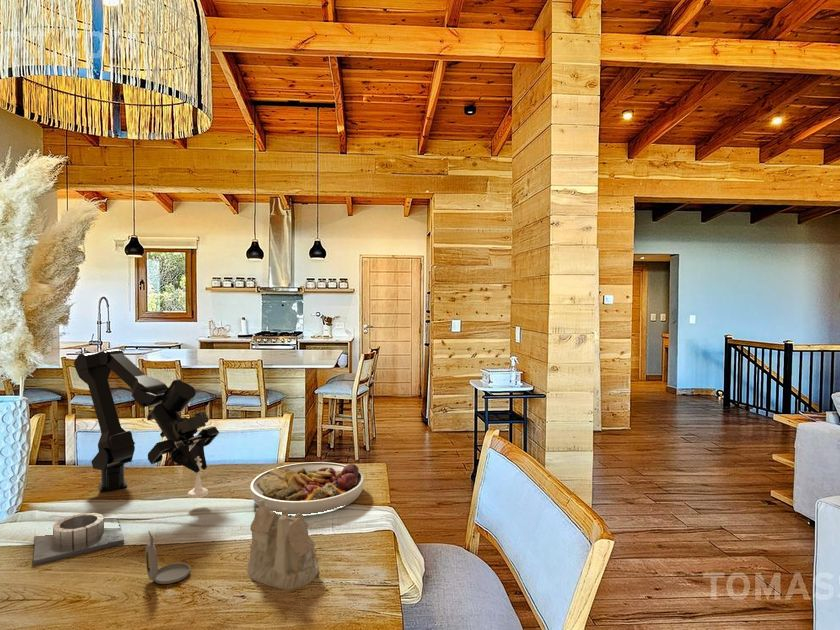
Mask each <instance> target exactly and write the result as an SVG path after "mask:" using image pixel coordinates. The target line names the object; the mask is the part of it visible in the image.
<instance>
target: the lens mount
mask: <svg viewBox="0 0 840 630" xmlns="http://www.w3.org/2000/svg"><path fill="white" fill-rule="evenodd" d="M104 522H111V523H114V522H119V523H120V520H116V519H104V515H103V514H101V513H99V512H85V513H79V514H73V515H70V516H67V517H65V518H62V519H60V520H58V521H57V522H55V523H54V524H53V525H52V527H53V535H45V536H35V538H34V548H33V564H32V566H37V565H42V564H45V563H50V562H55V561H58V560H63V559H67V558H71V557H74V556H80V555H83V554H87V553H88V554H89V553H92V552H97V551H100V550H101V551H102V550H105V549H109V548H112V547H113V548H114V547H118V546H121V545H124V544H125V538H124V534H123V531H122V528H104Z"/></svg>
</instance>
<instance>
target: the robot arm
mask: <svg viewBox="0 0 840 630" xmlns="http://www.w3.org/2000/svg"><path fill="white" fill-rule="evenodd" d="M73 365H74V368H75V371H76V373H77V375H78V378H79V379H80V380H82V381H83V382H84V383H85V384H86V385H87V387H88V390H89V393H90V397H91V400H92V404H93V408H94V411H95V415H96V419H97V422H98V426H99V430H100V437H99V439H98V443H97V447H98V448H97V451H98V452H97V453H96V455H94V457H93V459H92V460H91V462H90V463H91V466H92V468H93V469H94V470H97V471H98V470H100V483H98V487H99V491H100V492H107V491H108V492H109V491H113V490H120V489H124V488H127V487H128V484H127V481H126V479H125V464H127V463H131V462H132V461H133V457H134V453H135V449H136V447H135V444H136V442H135V441H134V438H133V433H132V431H130V430H128V431H126V430H125V429H124V428H122V425H121V422H120V419H119V415H118V411H117V408H116V404H115V401H114V400H115V399H114V397H113V393H112V389H111V386H110V382H109V377H110V374H111V372H113V373H115V374H116V376H117V377H118V378H120V379H121V380H122V382H124V384H126V385H127V386H128V387H129V389H131V397H133V399H134V401H135V402H137V403H136V404H138V406H140V407H141V408H147V407H153V406H154V407H153V409H149V410H148V415H147V417H146V420H147V421H148V422H149V421H152V420H154V422H155V423H156V424H157V426H158V428H159V429H160V430H161V432H160V433H159V435H160V437H161V438H166V440H161V441H159V442H157V443H155V445H154V446H153V447H152V448H151V449H150V450H149V451H148V453H147V460H148V461H149V463H150V465H155V464H158V463H161V462H162V460H163V457H164V456H163V455H165V454H169V456H170V457H169V458H168V462H173V463H176V464H178V465H181V466H183V467H185V468H187V469H188V470H191V471H192V472H193V473H194V472H196V473H197V472H199V471H201V470H203V471H205V470H206V469H207V468H208V465H207V461H206V455H205V447H207V446H208V445H210V444H211V443H212V442H213V441H214V439H215V438H217V436H218V435H219V434H220V431H219V430H218V428H217V427H216V426H212V425H211V426H209V427H206V426H207V425H206V424H207V423H208V422H209V420H210V419H209V416H208V415H207V413H206V412H205V411H204V410H202V411H199V412H197V413H195V415H194V416H192V417H185V416H184V417H183V416H181V414H180V412H183V411H184V410H185V409H186V407H187V406H188V405H189V404H190V402H191V401H192V400H193V399H194V397H195V396H196V394H197V393H196V389H195V387H194V386H192V385H190V384H189V383H187V382H185V381H183V380H182V379H180V378H178V379H173V381H172V382H171V384H170V385H169V386H167V385H166V383H165V382H162V381H161V380H160V379H158V378H155V377H152V376H149V375H147V374H145V373H144V372H143V371H142V370H141V369H140V368H139V367H138V366H137V365H136V364H135V363H133V361H131V359H129V358H128V357H127V356H125V354H124V351H123V350H121V349H118V348H114V349H104V350H103V351H94V352H86V353H79V354H78V355H77V357H76V358H75V359H74V362H73ZM205 427H206V428H205ZM200 428H202V429H201V430H200V431H199V429H200ZM198 431H199V432H198ZM195 434H197V435H195ZM194 435H195V436H194ZM197 456H199V459H201V461H199V462H200V463H202V466H201V469H199V467H198V465H197V461H195V458H197Z"/></svg>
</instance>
